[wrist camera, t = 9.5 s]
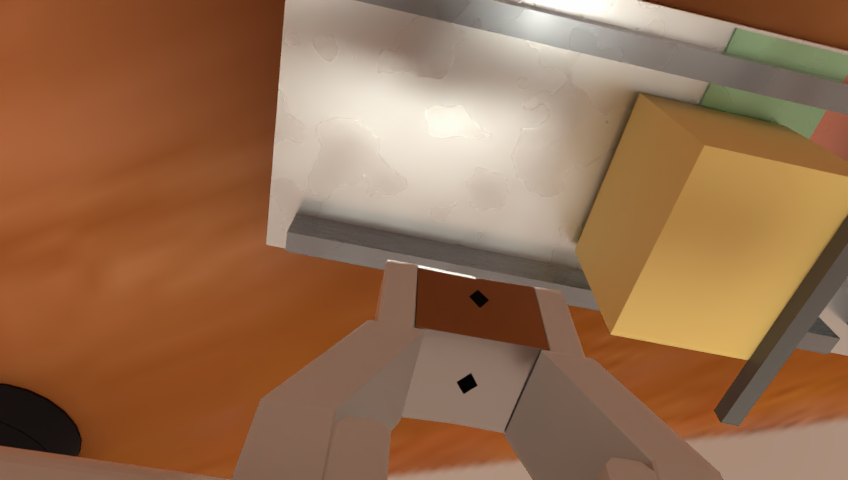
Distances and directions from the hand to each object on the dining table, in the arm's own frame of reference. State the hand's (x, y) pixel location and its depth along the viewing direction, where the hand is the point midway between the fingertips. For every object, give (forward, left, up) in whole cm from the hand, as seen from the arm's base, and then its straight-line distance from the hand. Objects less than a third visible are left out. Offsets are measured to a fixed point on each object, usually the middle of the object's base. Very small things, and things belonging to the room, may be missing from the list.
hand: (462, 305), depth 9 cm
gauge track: (+1, +7, -11) cm, 13 cm away
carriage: (+1, +10, -10) cm, 14 cm away
